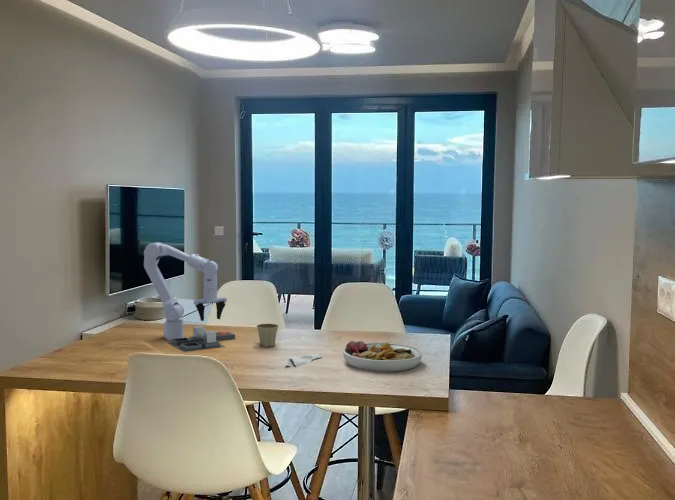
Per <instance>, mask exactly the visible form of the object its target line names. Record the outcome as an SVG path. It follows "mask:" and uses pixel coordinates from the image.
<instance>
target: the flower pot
mask: <svg viewBox="0 0 675 500" xmlns="http://www.w3.org/2000/svg"><path fill="white" fill-rule="evenodd" d="M256 328H257V331H258V332H257V333H258V337H259V339H258V340H259V345H260V346H261V347H263V348H264V347H265V348H268V347H271V348H273V347H274V346H275V345H276V338H277V331H278V328H279V324H275V323H258V324H257V325H256Z"/></svg>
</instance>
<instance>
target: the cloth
mask: <svg viewBox="0 0 675 500" xmlns="http://www.w3.org/2000/svg"><path fill="white" fill-rule="evenodd" d="M322 355H323V354H321V353H316V354H315V353H313V354H310V353H307V354H303V355H301V356H293V357H291V356H290V357H288V358H287V359H286V361H285V365H284V367H283V368H284V369H286V368H287V366H288V367H295V368H298V367H303V366H305V365H308V364H311V363H312V362H313V360H317V359H320V358H321V359H322V358H323V356H322Z"/></svg>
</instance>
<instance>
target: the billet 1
mask: <svg viewBox="0 0 675 500" xmlns="http://www.w3.org/2000/svg"><path fill="white" fill-rule="evenodd" d="M203 331H206V327H205V326H202V325H199V326H192V337H193V338H194V339H203Z"/></svg>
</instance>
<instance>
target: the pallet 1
mask: <svg viewBox="0 0 675 500" xmlns="http://www.w3.org/2000/svg"><path fill="white" fill-rule="evenodd" d="M201 341H203V339H194V338H193V336H189V337H186V336H185V337H183V338H176V339H171V340H170V341H165V343H166V344H168V345H170V346H172V347H174V348H176V347H180V346H181V344H184V343H192V342H197V343H199V342H201Z"/></svg>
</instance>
